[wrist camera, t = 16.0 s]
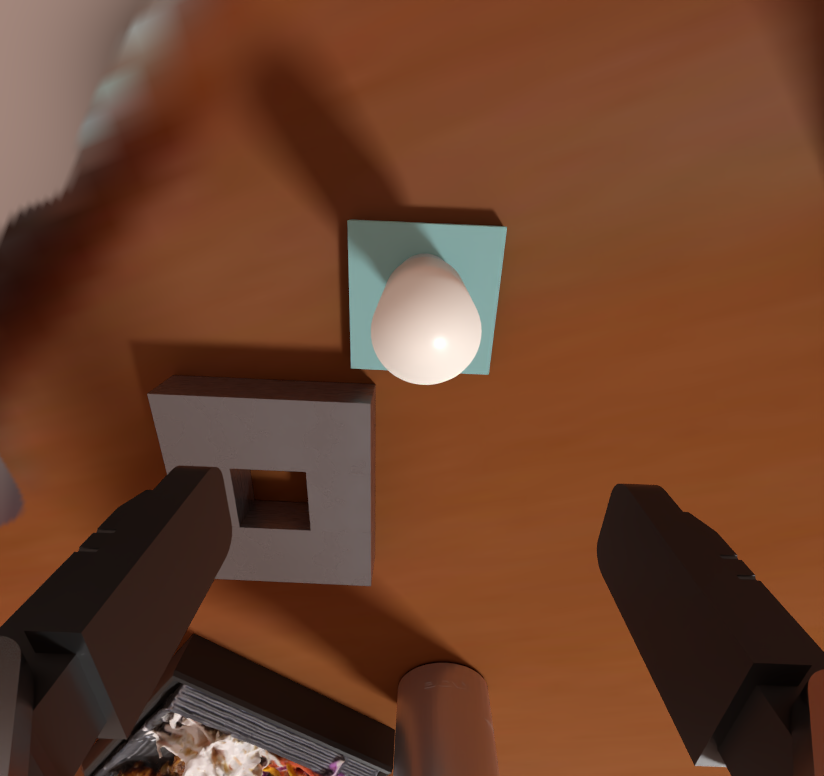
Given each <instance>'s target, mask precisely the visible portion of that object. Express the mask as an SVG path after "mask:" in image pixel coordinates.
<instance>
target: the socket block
mask: <svg viewBox="0 0 824 776" xmlns="http://www.w3.org/2000/svg"><path fill="white" fill-rule="evenodd" d="M147 395H148V399H149V403H150V407H151V411H152V415H153V419H154V423H155V427H156V431H157V435H158V440H159V444H160V448H161V452H162V456H163V460H164V464H165V468H166V472H167V475H168V473H169V472H170V471H171V470H172V469H173V468H175V467H176V466H206V467H218V468H219V469H220V470H221V472H222V474H223V479H224V484H225V490H226V495H227V501H228V506H229V512H230V517H231V523H232V540H231V545H230V549H229V552H228V554H227V557H226V559H225V561H224V562H223V564H222V566H221V568H220V570H219V572H218V573H217V575H216V577H215V579H229V580H251V581H272V582H294V583H316V584H337V585H359V586H371V582H372V574H373V567H374V559H375V384H359V383H336V382H314V381H291V380H269V379H246V378H224V377H201V376H179V375H173V376H171V377H170V378H169V379H167V380H166V381H164V382H163V383H162V384H160V385H159V386H157V387H156V388H155V389H153V390H152V391H150V392H149V393H148V394H147ZM250 469H252V470H274V471H296V472H306V479H307V491H308V503H302V502H280V501H258V500H254V493H253V486H252V479H251V473H250Z"/></svg>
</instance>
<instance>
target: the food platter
mask: <svg viewBox="0 0 824 776" xmlns="http://www.w3.org/2000/svg"><path fill="white" fill-rule="evenodd" d="M169 710H170V711H169ZM258 721H259V722H258ZM394 737H395V730H394V729H392V728H390V727H388V726H386V725H383V724H381V723H379V722H377V721H375V720H373V719H371V718H369V717H367V716H365V715H363V714H361V713H358V712H356V711H354V710H352V709H350V708H348V707H346V706H344V705H342V704H340V703H338V702H335V701H333V700H331V699H329V698H327V697H325V696H323V695H321V694H319V693H317V692H315V691H313V690H310V689H308V688H306V687H304V686H302V685H300V684H298V683H296V682H294V681H292V680H290V679H288V678H285V677H283V676H281V675H279V674H277V673H275V672H273V671H271V670H269V669H267V668H265V667H263V666H260V665H258V664H256V663H254V662H252V661H250V660H248V659H246V658H244V657H242V656H240V655H237V654H235V653H233V652H231V651H229V650H227V649H225V648H223V647H221V646H219V645H217V644H215V643H212V642H210V641H208V640H206V639H204V638H202V637H200V636H198V635H196V634H193V635H192V636H191V637H190V638H189V639H188V640H187V641H186V643H185V644H184V645H183V646H182V647H181V648H180V649H179V650H178V651H177V653H176V654H175V655H174V656H173V657H172V658H171V660H170V662H169V664H168V665H167V667H166V669H165V671H164V673H163V675H162V676H161V678H160V680H159V682H158V684H157V686H156V687H155V689H154V691H153V693H152V695H151V697H150V698H149V700H148V702H147V704H146V706H145V708H144V709H143V711H142V713H141V715H140V717H139V719H138V721H137V722H136V724H135V726H134V728H133V730H132V732H131V733H130V735H129V737H128V739H104V738H99V740H98V741H97V742H96V743H95V744H94V745H93V746H92V747H91V749H90V751H89V752H88V754H87V756H86V757H85V759H84V761H83V762H82V766H83V769H84V776H156V775H157V776H387V775H389V774H390V773H391V772H392V769H393V757H394ZM297 747H298V748H297ZM142 760H143V761H142ZM149 762H150V763H149ZM159 770H160V771H159Z"/></svg>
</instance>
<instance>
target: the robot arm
mask: <svg viewBox="0 0 824 776" xmlns="http://www.w3.org/2000/svg"><path fill="white" fill-rule="evenodd" d="M231 540H232V523H231V517H230V512H229V506H228V501H227V495H226V490H225V484H224V479H223V474H222V472H221V470H220V469H219V468H218V467H206V466H176V467H175V468H173V469H172V470H171V471H170V472H169V473H168V475H167V476H166V477H165V478H164V479H163V480H162V481H161V482H160V483H159V484H158V485H157V486H156V488H155V489H154V490H146V491H144V492H142V493H141V494H139V495H137V496H136V497H134V498H133V499H131V500H129V501H128V502H126V503H125V504H123V505H121V506H120V507H118V508H117V509H116V510H115V511H114V512H113V513H112V514H111V515H110V516H109V517H108V518H107V519H106V520H105V521H104V522H103V523H102V524H101V526H100V527H99V528H98V530H97V533H93V534H92V535H91V536H90V537H89V538H88V539H87V540H86V541H85V542H84V543H83V544H82V545H81V546H80V547H79V551H78V552H74V553H73V554H72V555H71V556H70V557H69V558H68V559H67V560H66V561H65V562H64V563H63V564H62V565H61V566H60V567H59V568H58V569H57V570H56V571H55V572H54V573H53V574H52V575H51V576H50V577H49V578H48V579H47V580H46V581H45V582H44V583H43V584H42V585H41V586H40V587H39V588H38V590H37V591H36V592H35V593H34V594H33V595H32V596H31V597H30V598H29V599H28V600H27V601H26V602H25V603H24V604H23V605H22V606H21V607H20V608H19V609H18V610H17V611H16V612H15V613H14V614H13V615H12V616H11V617H10V618H9V619H8V620H7V621H6V622H5V623H4V624H3V625H2V626H1V627H0V776H84V769H83V766H82V762H83V761H84V759H85V757H86V756H87V754H88V752H89V751H90V749H91V747H92V746H93V744H94V742H95V741H96V739H97V738H104V739H128V737H129V735H130V733H131V732H132V730H133V728H134V726H135V724H136V722H137V721H138V719H139V717H140V715H141V713H142V711H143V709H144V708H145V706H146V704H147V702H148V700H149V698H150V697H151V695H152V693H153V691H154V689H155V687H156V686H157V684H158V682H159V680H160V678H161V676H162V675H163V673H164V671H165V669H166V667H167V665H168V664H169V662H170V660H171V658H172V656H173V654H174V652H175V651H176V649H177V647H178V645H179V643H180V641H181V640H182V638H183V636H184V634H185V632H186V630H187V629H188V627H189V625H190V623H191V621H192V619H193V618H194V616H195V614H196V612H197V610H198V608H199V607H200V605H201V603H202V601H203V599H204V597H205V596H206V594H207V592H208V590H209V588H210V586H211V584H212V583H213V581H214V579H215V577H216V575H217V573H218V572H219V570H220V568H221V566H222V564H223V562H224V561H225V559H226V557H227V554H228V552H229V549H230V545H231ZM597 558H598V564H599V568H600V571H601V573H602V576H603V578H604V580H605V582H606V584H607V586H608V588H609V590H610V592H611V594H612V596H613V598H614V600H615V602H616V604H617V607H618V609H619V611H620V613H621V615H622V617H623V619H624V621H625V623H626V625H627V627H628V629H629V631H630V633H631V635H632V637H633V639H634V642H635V644H636V646H637V648H638V650H639V652H640V654H641V656H642V658H643V660H644V662H645V664H646V666H647V668H648V670H649V672H650V675H651V677H652V679H653V681H654V683H655V685H656V687H657V689H658V691H659V693H660V695H661V697H662V699H663V701H664V703H665V705H666V707H667V710H668V712H669V714H670V716H671V718H672V720H673V722H674V724H675V726H676V728H677V730H678V732H679V734H680V736H681V738H682V740H683V742H684V745H685V747H686V749H687V751H688V753H689V755H690V757H691V759H692V761H693V763H694V765H695V766H714V767H727V768H728V770H729V772H730V774H731V776H824V652H823V651H822V650H821V648H820V647H819V646H818V645H817V644H816V643H815V642H814V641H813V639H812V638H811V637H810V636H809V635H808V634H807V633H806V632H805V630H804V629H803V628H802V627H801V626H800V625H799V624H798V623H797V622H796V620H795V619H794V618H793V617H792V616H791V615H790V614H789V613H788V611H787V610H786V609H785V608H784V607H783V606H782V605H781V604H780V603H779V601H778V600H777V599H776V598H775V597H774V596H773V595H772V594H771V592H770V591H769V590H768V589H767V588H766V587H765V586H764V585H763V583H762V582H761V581H757V580H756V579H755V575H754V573H753V572H752V571H751V570H750V569H749V568H748V567H747V566H746V564H745V563H744V562H743V561H742V560H738V558H737V554H736V553H735V552H734V551H733V550H732V549H731V548H730V547H729V545H728V544H727V543H726V542H725V541H724V540H723V539H722V538H721V536H720V535H719V534H718V533H717V532H716V531H714V530H713V529H712V528H710V527H709V526H707V525H706V524H704V523H703V522H702V521H700V520H699V519H697V518H696V517H695V516H693V515H692V514H690V513H689V512H683V511H682V510H681V509H680V508H679V507H678V505H677V504H676V503H675V502H674V501H673V499H672V498H671V497H670V496H669V495H668V493H667V492H666V491H665V490H664V489H663V488H662V487H660V486H658V485H641V484H617V485H616V486H615V487H614V488H613V490H612V493H611V496H610V499H609V503H608V507H607V510H606V514H605V517H604V521H603V524H602V528H601V531H600V535H599V538H598V543H597ZM393 776H499V769H498V762H497V754H496V747H495V739H494V731H493V724H492V716H491V709H490V702H489V695H488V688H487V684H486V682H485V680H484V679H483V678H482V676H481V675H480V674H478V673H477V672H475V671H474V670H472V669H470V668H468V667H465V666H462V665H458V664H453V663H432V664H426V665H423V666H420V667H417V668H415V669H413V670H411V671H410V672H408V673H407V674H406V675H405V676H404V677H403V678H402V679H401V681H400V683H399V685H398V698H397V717H396V733H395V752H394V772H393Z"/></svg>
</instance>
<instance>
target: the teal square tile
mask: <svg viewBox="0 0 824 776" xmlns="http://www.w3.org/2000/svg"><path fill="white" fill-rule="evenodd" d="M347 223H348V265H349V308H350V350H351V369H373V370H387V369H386V368H385V367H384V366H383V364H382V363H381V362H380V360H379V359H378V357H377V355H376V353H375V351H374V348H373V345H372V340H371V323H372V319H373V315H374V313H375V310H376V308H377V305H378V303H379V300H380V298H381V295H382V293H383V291H384V288H385V286H386V283H387V281H388V279H389V277H390V276H391V274H392V273H393V272H394V270H395V269H396V268H397V267H399V266H400V265H401V264H402V263H403V262H404V261H405V260H407V259H408V258H410V257H412V256H414V255H417V254H432V255H435V256H438V257H439V258H441V259H442V260H444V261H445V262H446V263H448V264H449V265H450V266H452V267H453V268H454V269H455V270H456V271H457V273H458V274H459V275H460V277H461V279H462V281H463V283H464V285H465V287H466V289H467V291H468V293H469V295H470V297H471V299H472V301H473V303H474V305H475V307H476V309H477V311H478V314H479V316H480V321H481V330H482V333H481V341H480V345H479V348H478V351H477V353H476V355H475V357H474V359H473V360H472V362H471V363H470V364H469V365H468V366H467V368H466V369H465V370H463V371H462V372H461V373H464V374H486V375H489V368H490V360H491V352H492V344H493V336H494V328H495V320H496V312H497V304H498V295H499V287H500V279H501V271H502V263H503V255H504V247H505V239H506V231H507V227H505V226H489V225H465V224H442V223H419V222H396V221H372V220H347Z"/></svg>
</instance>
